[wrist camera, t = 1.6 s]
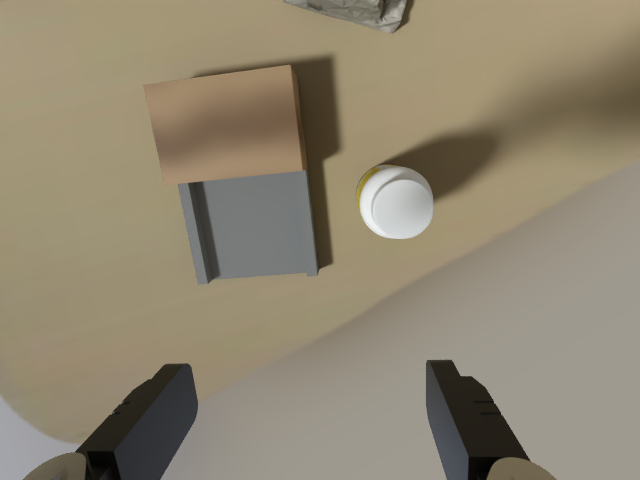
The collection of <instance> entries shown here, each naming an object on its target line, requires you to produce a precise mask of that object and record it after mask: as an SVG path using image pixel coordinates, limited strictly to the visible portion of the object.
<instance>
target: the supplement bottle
mask: <svg viewBox="0 0 640 480" xmlns="http://www.w3.org/2000/svg"><path fill="white" fill-rule="evenodd" d="M356 200H357V204H358V207H359V210H360V212H361V215H362V218H363V220H364V222H365V223H366V224H367V226H368V227H369V228H370V229H371V230H372V231H373V232H375V233H376V234H378V235H380V236H383V237H386V238H393V239H407V238H411V237H414V236H416V235H418V234H420V233H421V232H422V231H424V230H425V228H426V227H427V226H428V225H429V223H430V221H431V219H432V217H433V212H434V203H433V194H432V191H431V188H430V186H429V184H428V182H427V181H426V179H425V178H424V177H423V176H422V175H421V174H419V173H418V172H416V171H414V170H412V169H410V168H407V167H401V166H396V165H379V166H376V167H373V168H372V169H370V170H369V171H367V172H366V173H365V174H364V175H363V176H362V178H361V179H360V181H359V183H358V186H357V190H356Z"/></svg>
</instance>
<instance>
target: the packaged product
mask: <svg viewBox="0 0 640 480" xmlns="http://www.w3.org/2000/svg"><path fill="white" fill-rule="evenodd" d="M283 2H285V3H288V4H291V5H294V6H297V7H301V8H304V9H307V10H310V11H313V12H317V13H320V14H323V15H327V16H330V17H334V18H338V19H342V20H347V21H350V22H353V23H356V24H359V25H363V26H366V27H370V28H373V29H377V30H381V31H384V32H388V33H394V32H395V31H396V29H397V28H398V26H399V24H400V22H401V20H402V17H403V14H404V10H405V7H406V3H407V0H283Z"/></svg>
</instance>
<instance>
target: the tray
mask: <svg viewBox="0 0 640 480" xmlns="http://www.w3.org/2000/svg"><path fill="white" fill-rule="evenodd" d="M178 188H179V193H180V198H181V203H182V208H183V213H184V218H185V223H186V227H187V232H188V237H189V242H190V247H191V252H192V257H193V262H194V267H195V271H196V276H197V281H198V285H199V284H208V283H209V282H210V281H211V280H213V279H226V278H240V277H253V276H266V275H279V274H293V273H306V272H307V276H318V272H319V265H318V256H317V247H316V238H315V229H314V220H313V211H312V202H311V193H310V184H309V175H308V169H307V170H303V171H295V172H285V173H276V174H267V175H257V176H248V177H238V178H229V179H219V180H210V181H200V182H191V183H182V184H178Z"/></svg>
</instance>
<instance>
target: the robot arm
mask: <svg viewBox="0 0 640 480" xmlns="http://www.w3.org/2000/svg"><path fill="white" fill-rule="evenodd" d="M426 407H427V414H428V419H429V423H430V427H431V430H432V433H433V436H434V439H435V443H436V446H437V449H438V452H439V455H440V458H441V462H442V465H443V468H444V471H445V474H446V477H447V480H556V479H555V478H554V477H553V476H552V475H551V474H550V473H549V472H547V471H546V470H545V469H543V468H542V467H540V466H538V465H536V464H535V463H532V462H531V461H530V459H529V458H528V456H527V455H526V453H525V451H524V450H523V448H522V446H521V445H520V443H519V442H518V440H517V438H516V437H515V435H514V433H513V432H512V430H511V428H510V427H509V425H508V424H507V422H506V420H505V419H504V417H503V416H501V412H500V411H499V409H498V407H497V406H496V404H494V401H493V399H492V398H491V396H490V394H489V393H488V391H487V389H486V388H485V387H484V386H483V385H482V384H480V383H479V382H478V381H476V380H475V379H474V378H473V377H471V376H467V377H465V376H460V374H459V372H458V371H457V369H456V367H455V365H454V363H453V362H452V360H427V363H426ZM197 410H198V401H197V395H196V390H195V384H194V379H193V373H192V369H191V366H190V365H189V364H165V365H164V366H163V367H162V368H161V369H160V370H159V371H158V372H157V373H156V374H155V376H154V377H153V378H152V379H149V380H147V381H146V382H144V383H143V384H141V385H140V386H138V387H137V388H135V389H134V390H133V391H132V392H131V393H130V394H129V395H128V396H127V397H126V398H125V399H124V400H123V401H122V404H119V406H118V407H117V408H116V409H115V410H114V411H113V412H112V415H109V416H108V417H107V418H106V419H105V420H104V422H103V423H102V424H101V425H100V426H99V427H98V428H97V429H96V430H95V431H94V432H93V433H92V434H91V435H90V436H89V438H88V439H87V440H86V441H85V442H84V443H83V444H82V445H81V446H80V447H79V448H78V449H77V450H76V451H75V452H74V453H66V454H63V455H60V456H57V457H55V458H52V459H50V460H48V461H46V462H45V463H43V464H41V465H40V466H38V467H37V468H36V469H34V470H33V471H32V472H30V473H29V474H28V475H27V476H26V477H25V478H24V479H23V480H160V479H161V477H162V475H163V474H164V472H165V470H166V469H167V467H168V465H169V464H170V462H171V460H172V458H173V457H174V455H175V453H176V452H177V450H178V448H179V447H180V445H181V443H182V442H183V440H184V438H185V436H186V435H187V433H188V431H189V430H190V428H191V426H192V424H193V423H194V421H195V418H196V415H197Z"/></svg>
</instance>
